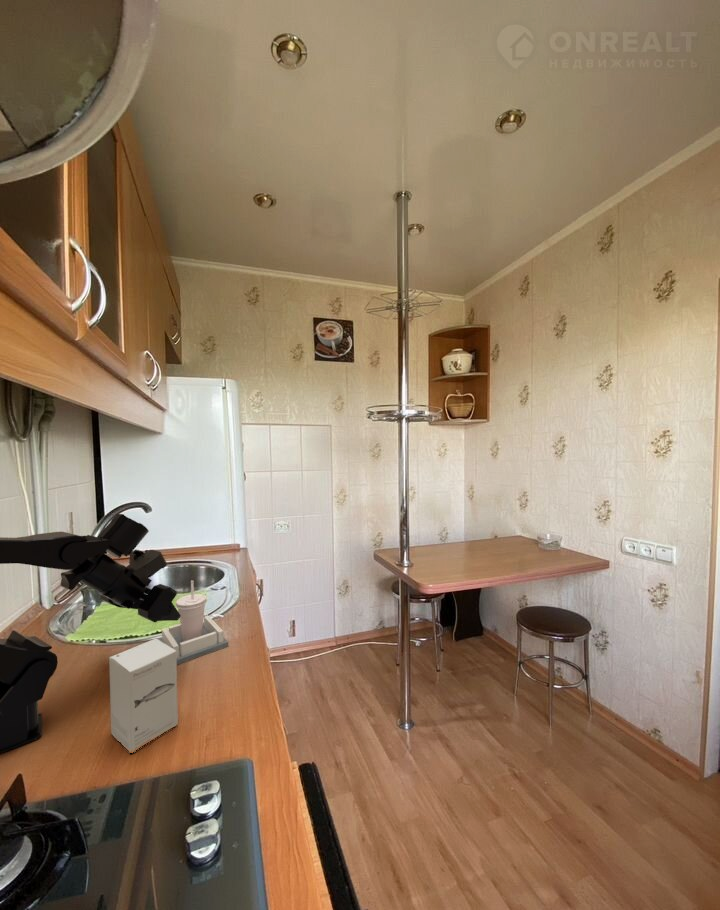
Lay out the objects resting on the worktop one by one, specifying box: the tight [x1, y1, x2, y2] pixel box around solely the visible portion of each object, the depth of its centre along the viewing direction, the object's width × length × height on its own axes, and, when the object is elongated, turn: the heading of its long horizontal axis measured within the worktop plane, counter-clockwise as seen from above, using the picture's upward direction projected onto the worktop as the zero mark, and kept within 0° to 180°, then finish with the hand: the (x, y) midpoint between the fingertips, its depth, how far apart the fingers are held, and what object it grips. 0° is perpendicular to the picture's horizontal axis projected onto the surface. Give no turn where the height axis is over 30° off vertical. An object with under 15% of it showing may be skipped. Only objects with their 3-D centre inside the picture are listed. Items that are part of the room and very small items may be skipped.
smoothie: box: [175, 580, 207, 642], centre depth 85 cm, size 6×6×14 cm
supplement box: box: [108, 638, 179, 752], centre depth 60 cm, size 7×7×13 cm
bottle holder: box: [157, 614, 229, 666], centre depth 86 cm, size 12×12×4 cm
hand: (166, 613), depth 80 cm, fingers open, 9 cm apart
